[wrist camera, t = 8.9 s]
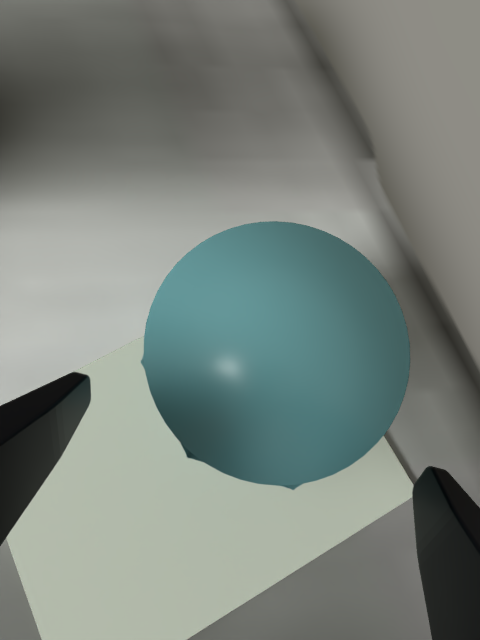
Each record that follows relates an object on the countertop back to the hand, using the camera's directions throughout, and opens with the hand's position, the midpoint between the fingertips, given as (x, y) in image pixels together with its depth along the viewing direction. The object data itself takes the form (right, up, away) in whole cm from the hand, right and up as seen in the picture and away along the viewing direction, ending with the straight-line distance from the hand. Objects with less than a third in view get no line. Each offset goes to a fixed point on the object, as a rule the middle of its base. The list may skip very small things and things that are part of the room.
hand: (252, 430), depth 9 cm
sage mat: (-3, -4, +10) cm, 11 cm away
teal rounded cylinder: (0, 0, +10) cm, 10 cm away
